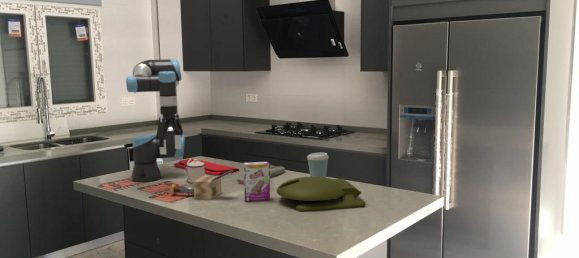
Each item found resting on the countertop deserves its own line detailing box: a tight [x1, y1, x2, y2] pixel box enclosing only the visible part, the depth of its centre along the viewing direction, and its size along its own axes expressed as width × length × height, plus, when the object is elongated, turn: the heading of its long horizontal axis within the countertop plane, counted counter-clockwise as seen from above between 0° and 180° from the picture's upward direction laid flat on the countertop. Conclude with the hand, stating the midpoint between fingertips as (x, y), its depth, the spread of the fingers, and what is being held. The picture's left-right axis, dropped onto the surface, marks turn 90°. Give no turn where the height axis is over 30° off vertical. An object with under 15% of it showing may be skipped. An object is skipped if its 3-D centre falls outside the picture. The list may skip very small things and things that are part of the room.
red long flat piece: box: [173, 158, 240, 176], centre depth 279 cm, size 16×41×4 cm, turn 48°
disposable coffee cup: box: [306, 151, 329, 178], centre depth 239 cm, size 11×11×15 cm
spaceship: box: [276, 176, 367, 212], centre depth 211 cm, size 35×31×10 cm
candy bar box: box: [242, 161, 271, 203], centre depth 213 cm, size 11×5×16 cm, turn 102°
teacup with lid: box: [185, 158, 206, 184], centre depth 250 cm, size 12×9×12 cm
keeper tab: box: [212, 170, 234, 181], centre depth 217 cm, size 9×6×1 cm
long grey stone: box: [237, 164, 286, 186], centre depth 256 cm, size 35×5×10 cm
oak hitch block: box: [192, 174, 223, 201], centre depth 221 cm, size 8×12×8 cm, turn 165°
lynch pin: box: [169, 183, 194, 196], centre depth 222 cm, size 13×5×5 cm, turn 75°
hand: (170, 151), depth 225 cm, fingers open, 13 cm apart
